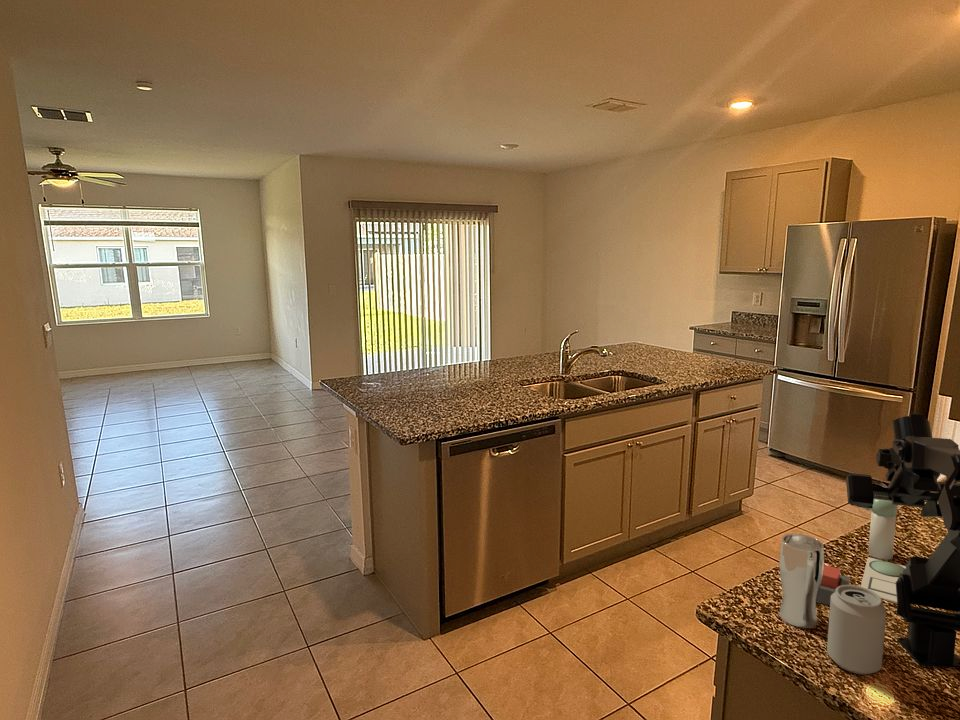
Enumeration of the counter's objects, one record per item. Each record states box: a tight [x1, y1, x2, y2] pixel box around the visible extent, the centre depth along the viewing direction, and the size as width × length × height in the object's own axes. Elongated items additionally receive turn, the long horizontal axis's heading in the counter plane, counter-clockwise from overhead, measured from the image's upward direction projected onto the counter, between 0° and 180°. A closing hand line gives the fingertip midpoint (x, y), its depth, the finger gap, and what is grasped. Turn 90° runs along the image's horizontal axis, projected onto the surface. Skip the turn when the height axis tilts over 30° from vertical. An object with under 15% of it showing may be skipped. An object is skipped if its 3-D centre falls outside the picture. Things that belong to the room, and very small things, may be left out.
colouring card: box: [860, 556, 906, 604], centre depth 115 cm, size 17×8×1 cm, turn 141°
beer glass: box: [778, 533, 825, 629], centre depth 103 cm, size 7×7×15 cm
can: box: [826, 584, 887, 675], centre depth 91 cm, size 8×8×12 cm
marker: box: [867, 495, 899, 561], centre depth 124 cm, size 5×5×13 cm
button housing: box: [816, 574, 851, 607], centre depth 111 cm, size 8×8×3 cm
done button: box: [821, 564, 841, 589], centre depth 111 cm, size 4×4×3 cm
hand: (894, 511), depth 116 cm, fingers open, 9 cm apart
